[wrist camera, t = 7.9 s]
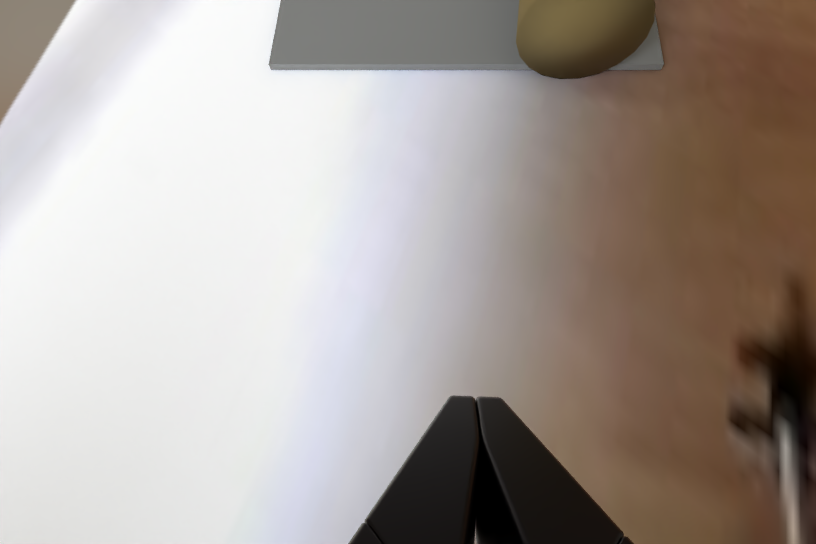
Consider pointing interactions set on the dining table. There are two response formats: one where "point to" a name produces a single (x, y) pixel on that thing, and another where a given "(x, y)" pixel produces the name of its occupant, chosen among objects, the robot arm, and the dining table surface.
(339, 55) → the rubber mat
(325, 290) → the dining table surface
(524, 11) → the cork
